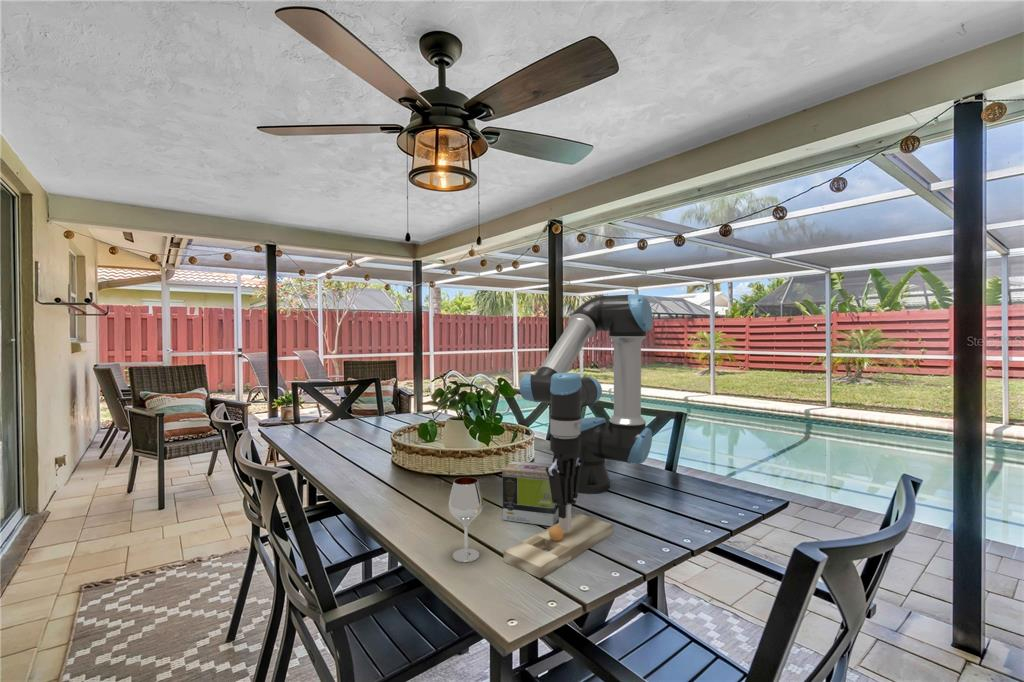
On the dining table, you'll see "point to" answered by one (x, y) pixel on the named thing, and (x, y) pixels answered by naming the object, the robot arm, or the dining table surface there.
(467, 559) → the wineglass
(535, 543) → the board
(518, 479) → the tea box
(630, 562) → the dining table surface
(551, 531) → the ball
